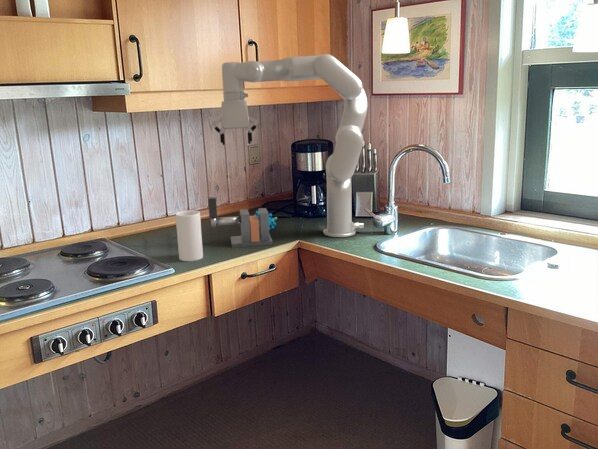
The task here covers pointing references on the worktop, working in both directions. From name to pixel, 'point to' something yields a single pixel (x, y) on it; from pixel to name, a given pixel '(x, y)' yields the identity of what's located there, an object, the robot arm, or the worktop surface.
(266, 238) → the bracket
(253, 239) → the orange square block
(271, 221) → the blue spiky toy
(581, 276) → the worktop surface
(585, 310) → the worktop surface
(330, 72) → the robot arm
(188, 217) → the cup
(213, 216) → the shaft
